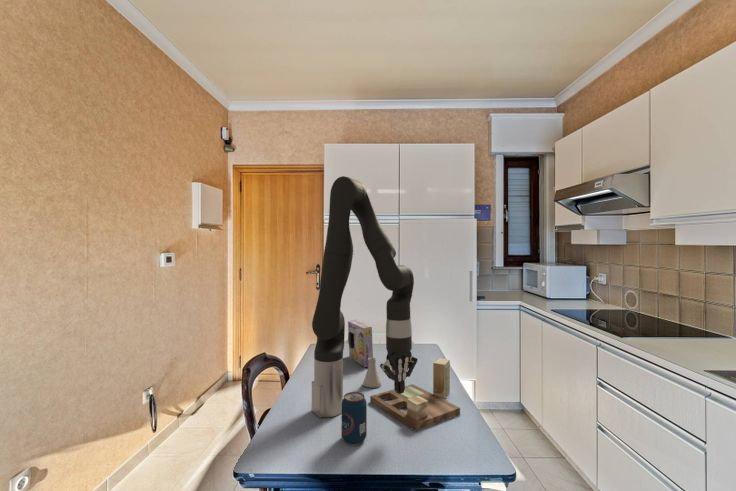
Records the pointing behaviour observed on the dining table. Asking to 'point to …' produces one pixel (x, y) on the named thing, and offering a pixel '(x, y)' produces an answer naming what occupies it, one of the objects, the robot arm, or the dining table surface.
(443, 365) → the skincare box
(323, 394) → the robot arm
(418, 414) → the birch block
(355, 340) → the cake pan box
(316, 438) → the dining table surface
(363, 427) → the soda can
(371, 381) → the flask
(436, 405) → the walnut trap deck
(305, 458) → the dining table surface
